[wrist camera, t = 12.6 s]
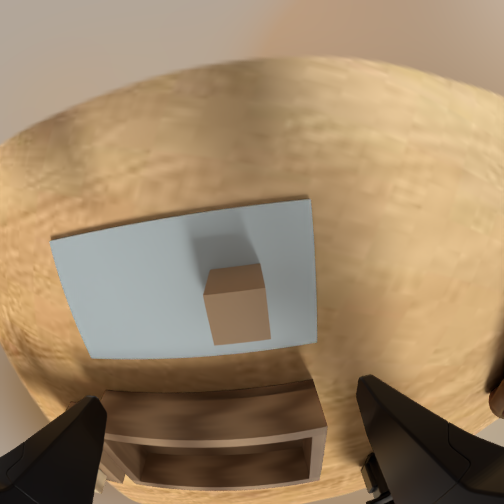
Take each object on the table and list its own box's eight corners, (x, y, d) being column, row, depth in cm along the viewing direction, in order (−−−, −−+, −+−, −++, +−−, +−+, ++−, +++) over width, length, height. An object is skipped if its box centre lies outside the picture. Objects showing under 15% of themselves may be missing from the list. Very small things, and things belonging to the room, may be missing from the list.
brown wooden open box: (312, 379, 20) (345, 485, 10) (310, 442, 23) (329, 521, 13) (59, 384, 20) (17, 454, 10) (101, 443, 23) (78, 506, 13)
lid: (306, 197, 16) (329, 208, 12) (313, 334, 19) (330, 374, 15) (56, 237, 16) (18, 257, 12) (96, 351, 19) (74, 385, 15)
